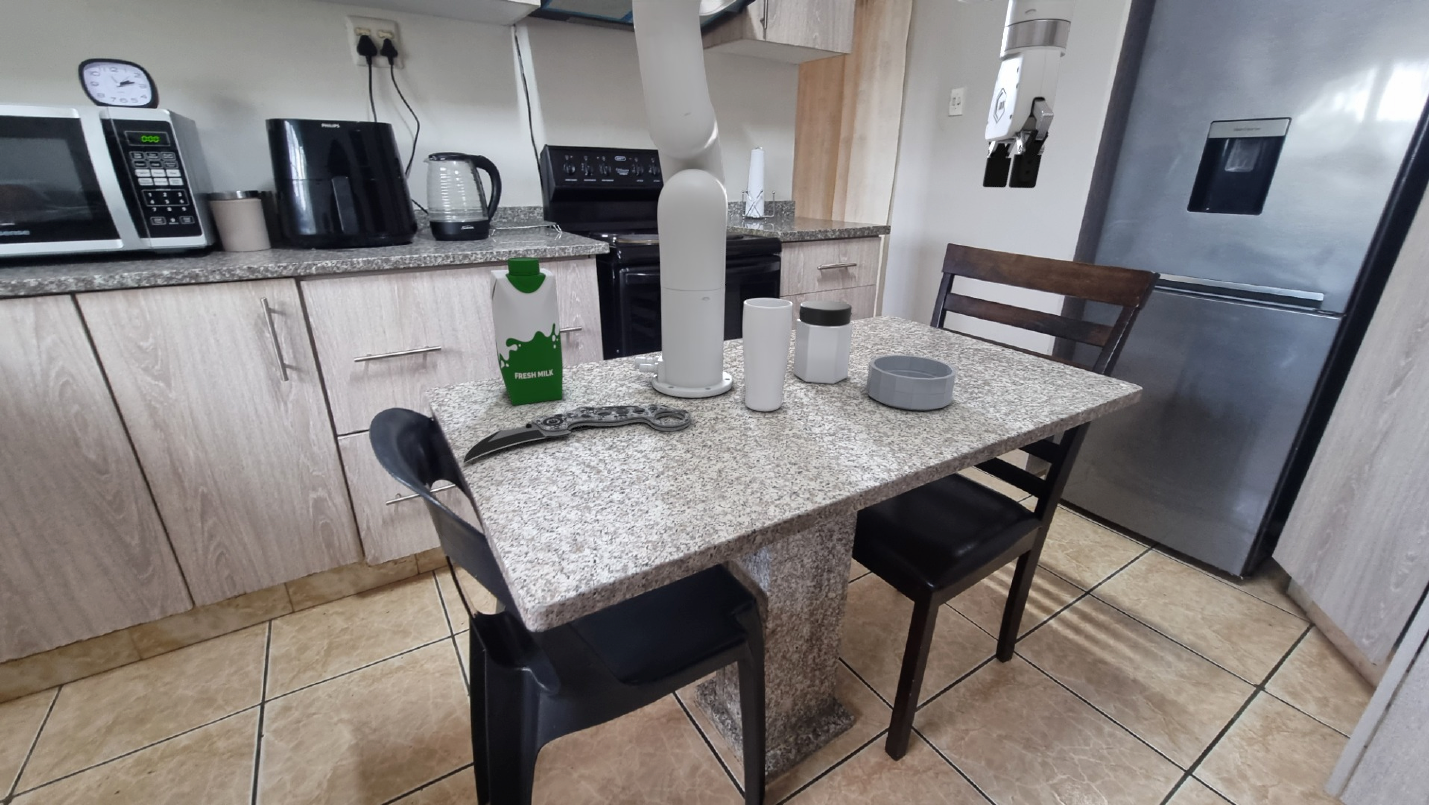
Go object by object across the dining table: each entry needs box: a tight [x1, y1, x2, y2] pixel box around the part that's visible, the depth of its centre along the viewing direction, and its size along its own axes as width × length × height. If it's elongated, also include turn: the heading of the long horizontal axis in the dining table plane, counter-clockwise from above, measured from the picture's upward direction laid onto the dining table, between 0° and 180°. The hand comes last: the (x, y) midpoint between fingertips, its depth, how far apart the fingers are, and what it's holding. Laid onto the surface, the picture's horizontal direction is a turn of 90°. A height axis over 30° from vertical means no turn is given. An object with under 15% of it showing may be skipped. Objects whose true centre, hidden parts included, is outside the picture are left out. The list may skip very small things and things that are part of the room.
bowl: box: [865, 354, 958, 411], centre depth 87 cm, size 12×12×5 cm
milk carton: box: [489, 256, 564, 406], centre depth 83 cm, size 9×9×20 cm
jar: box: [792, 299, 854, 385], centre depth 95 cm, size 9×8×12 cm
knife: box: [462, 403, 692, 464], centre depth 73 cm, size 28×2×10 cm
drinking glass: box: [741, 297, 794, 412], centre depth 81 cm, size 7×7×15 cm
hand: (1007, 187), depth 80 cm, fingers open, 9 cm apart
